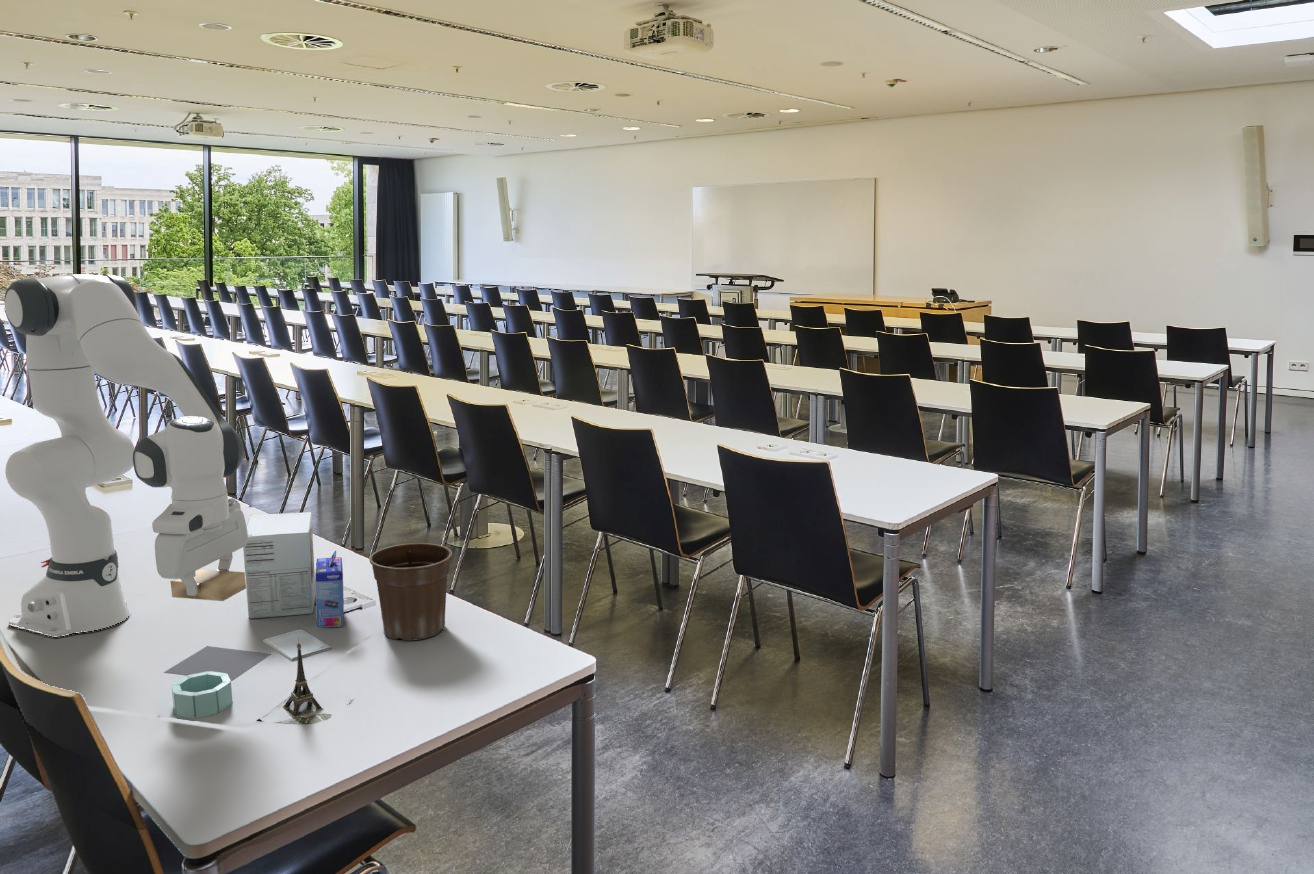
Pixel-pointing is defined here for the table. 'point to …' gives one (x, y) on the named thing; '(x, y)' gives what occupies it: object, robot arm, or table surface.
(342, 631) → the table surface
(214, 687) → the bowl
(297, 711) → the eiffel tower figurine
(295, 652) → the hard drive
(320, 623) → the ink cartridge box
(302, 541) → the supplement box
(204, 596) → the lid
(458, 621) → the table surface
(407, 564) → the plant pot
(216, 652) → the mat
